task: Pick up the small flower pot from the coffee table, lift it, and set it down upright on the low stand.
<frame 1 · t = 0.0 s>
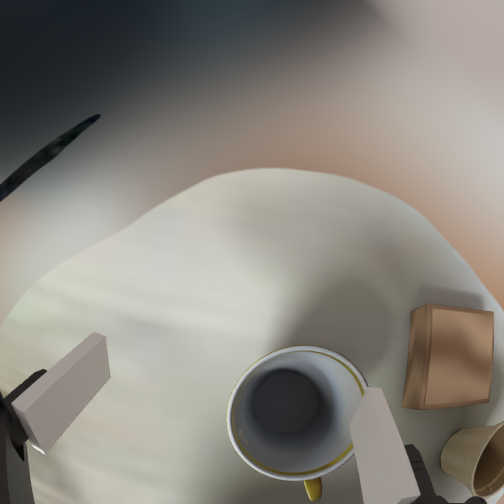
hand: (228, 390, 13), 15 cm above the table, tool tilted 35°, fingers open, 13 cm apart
ceramic cup: (288, 414, 25), on the table
stand: (444, 360, 27), on the table
flower pot: (456, 450, 22), on the table
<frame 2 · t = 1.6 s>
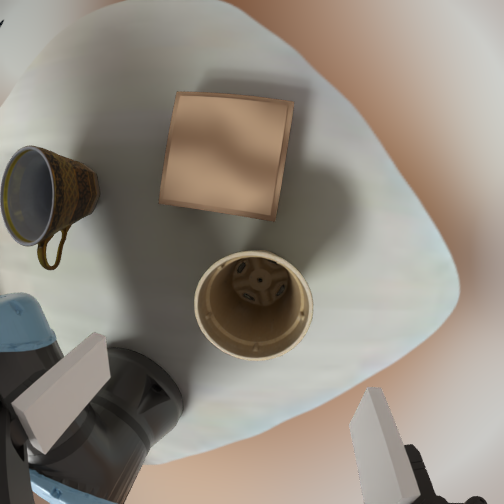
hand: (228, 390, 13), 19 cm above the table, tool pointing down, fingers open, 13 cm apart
ceramic cup: (83, 202, 31), on the table
stand: (230, 155, 28), on the table
flower pot: (260, 277, 31), on the table
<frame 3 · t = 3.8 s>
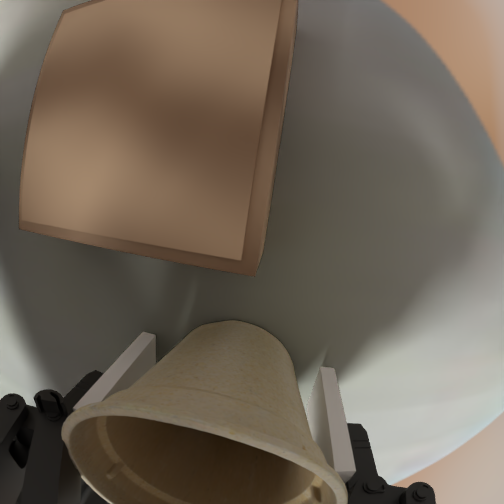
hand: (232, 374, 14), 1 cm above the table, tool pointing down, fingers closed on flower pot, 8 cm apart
stand: (163, 117, 12), on the table
flower pot: (234, 366, 15), on the table, touching gripper
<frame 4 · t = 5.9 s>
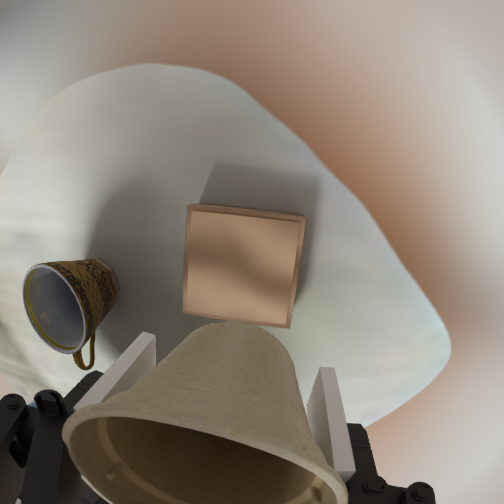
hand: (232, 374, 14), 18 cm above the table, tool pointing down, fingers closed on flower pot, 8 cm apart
ceramic cup: (103, 293, 34), on the table
stand: (244, 260, 31), on the table
flower pot: (235, 366, 15), point 17 cm above the table, touching gripper
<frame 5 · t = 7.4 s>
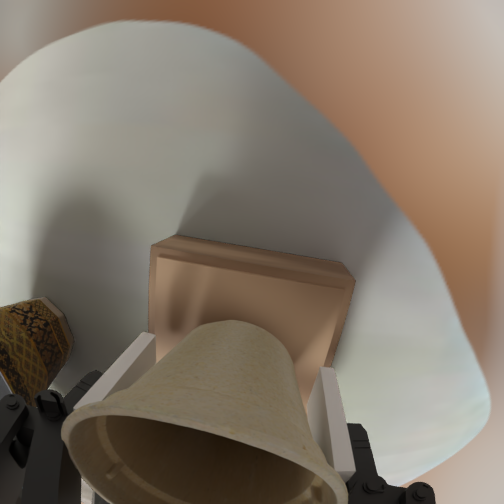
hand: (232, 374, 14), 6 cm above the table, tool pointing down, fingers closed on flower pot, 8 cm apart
ceramic cup: (57, 341, 23), on the table
stand: (245, 325, 20), on the table
flower pot: (234, 365, 15), point 5 cm above the table, touching gripper
when the fingers open (5 cm above the table, at t = 8.0 s): flower pot stays where it is, resting on stand.
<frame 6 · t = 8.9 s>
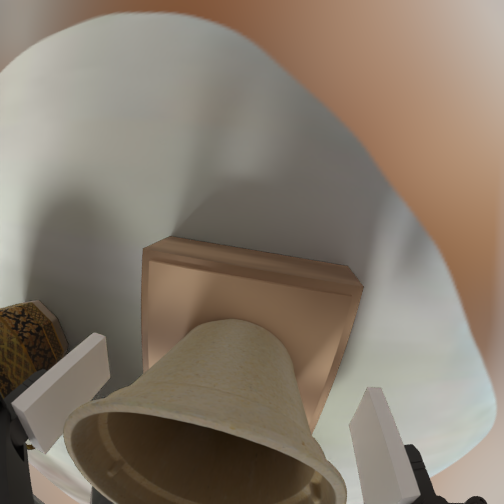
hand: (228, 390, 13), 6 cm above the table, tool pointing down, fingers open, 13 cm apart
ceramic cup: (51, 345, 22), on the table
stand: (244, 332, 18), on the table
flower pot: (234, 364, 15), point 4 cm above the table, touching stand
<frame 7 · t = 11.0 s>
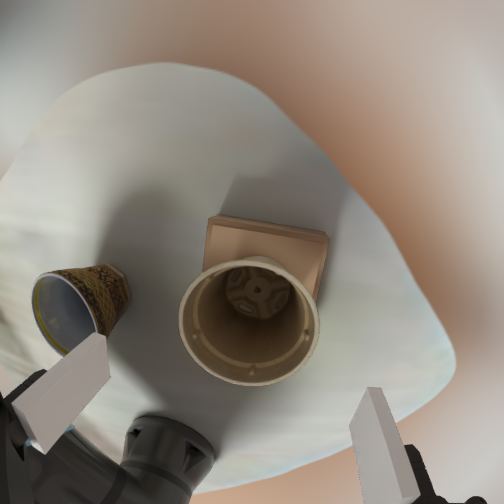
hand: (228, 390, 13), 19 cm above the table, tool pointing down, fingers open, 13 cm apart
ceramic cup: (114, 299, 34), on the table
stand: (262, 274, 31), on the table
flower pot: (258, 286, 27), point 4 cm above the table, touching stand
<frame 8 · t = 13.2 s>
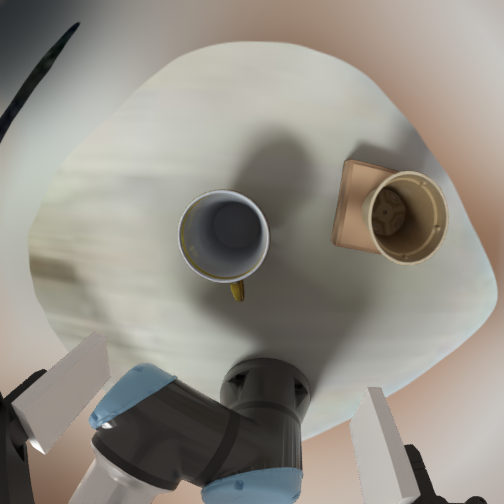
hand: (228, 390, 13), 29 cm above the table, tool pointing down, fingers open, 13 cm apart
ceramic cup: (239, 235, 40), on the table
stand: (375, 208, 37), on the table
flower pot: (383, 211, 34), point 4 cm above the table, touching stand
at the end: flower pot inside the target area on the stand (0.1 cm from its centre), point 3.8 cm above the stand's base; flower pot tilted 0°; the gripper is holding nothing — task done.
